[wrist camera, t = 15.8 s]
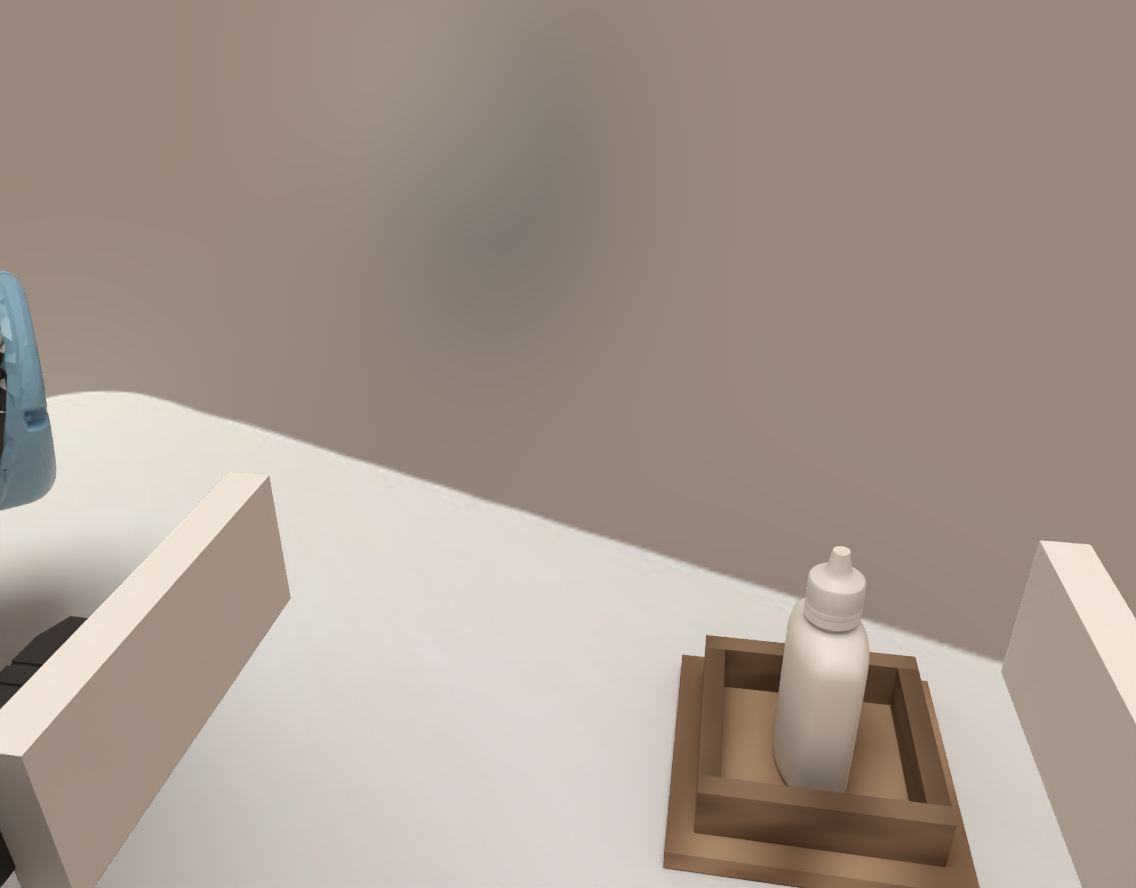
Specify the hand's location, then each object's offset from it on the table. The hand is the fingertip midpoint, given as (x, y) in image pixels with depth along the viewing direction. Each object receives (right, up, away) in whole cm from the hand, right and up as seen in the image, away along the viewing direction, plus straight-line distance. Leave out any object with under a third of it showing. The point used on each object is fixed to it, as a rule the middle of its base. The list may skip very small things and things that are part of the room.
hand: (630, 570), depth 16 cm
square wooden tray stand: (+11, -14, +29) cm, 34 cm away
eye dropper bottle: (+10, -13, +28) cm, 33 cm away
